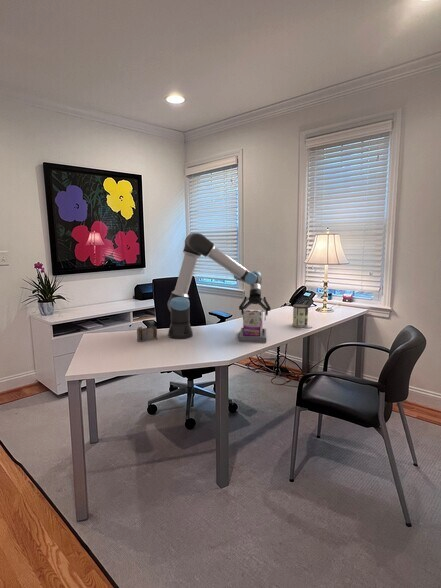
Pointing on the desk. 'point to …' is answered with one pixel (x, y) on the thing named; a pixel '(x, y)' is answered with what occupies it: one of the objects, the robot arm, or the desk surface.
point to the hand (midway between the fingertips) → (254, 319)
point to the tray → (252, 337)
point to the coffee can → (300, 315)
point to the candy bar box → (252, 322)
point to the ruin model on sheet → (146, 334)
